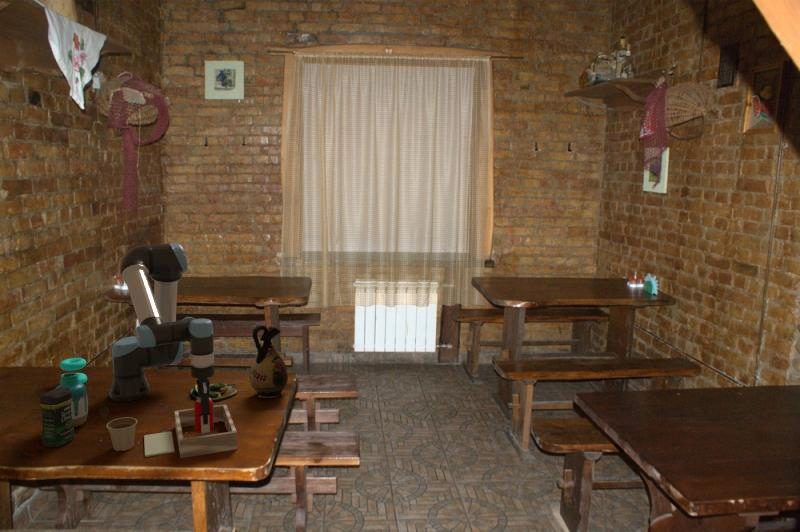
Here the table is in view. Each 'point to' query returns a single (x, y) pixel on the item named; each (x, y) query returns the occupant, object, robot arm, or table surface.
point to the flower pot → (122, 433)
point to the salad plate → (215, 391)
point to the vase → (76, 397)
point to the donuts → (75, 367)
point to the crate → (207, 442)
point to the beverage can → (198, 418)
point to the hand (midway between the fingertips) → (204, 427)
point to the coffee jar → (57, 417)
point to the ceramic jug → (267, 365)
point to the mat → (158, 444)
